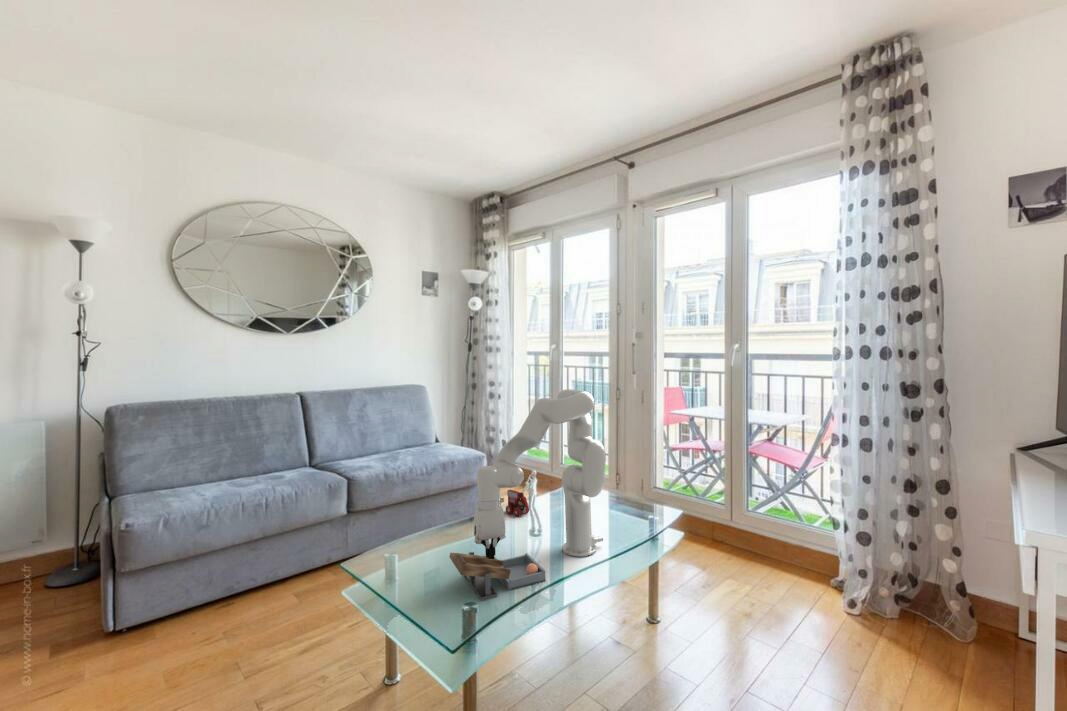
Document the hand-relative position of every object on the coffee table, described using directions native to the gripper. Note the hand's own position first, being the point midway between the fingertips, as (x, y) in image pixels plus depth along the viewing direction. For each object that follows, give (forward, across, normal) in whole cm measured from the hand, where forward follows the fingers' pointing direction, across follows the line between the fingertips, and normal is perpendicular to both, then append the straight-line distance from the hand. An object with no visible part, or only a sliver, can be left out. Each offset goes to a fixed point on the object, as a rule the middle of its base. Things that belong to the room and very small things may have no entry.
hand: (490, 558), depth 159 cm
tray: (+6, -8, +5) cm, 11 cm away
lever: (-1, +6, +5) cm, 8 cm away
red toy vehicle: (+6, -31, -51) cm, 60 cm away
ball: (+3, -12, +8) cm, 14 cm away
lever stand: (+6, +6, +5) cm, 9 cm away
